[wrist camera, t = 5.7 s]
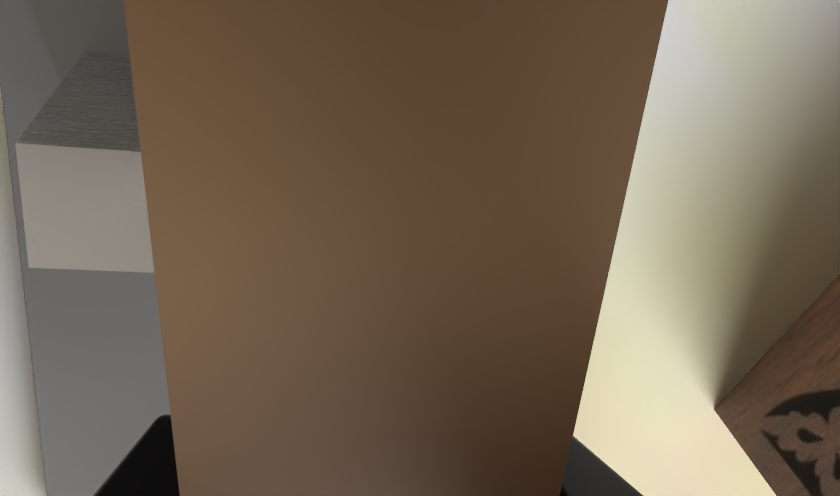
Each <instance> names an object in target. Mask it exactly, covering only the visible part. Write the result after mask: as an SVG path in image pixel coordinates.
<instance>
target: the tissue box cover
mask: <svg viewBox="0 0 840 496" xmlns="http://www.w3.org/2000/svg"><path fill="white" fill-rule="evenodd" d="M714 410H715V411H716V413H717V414H718V415H719V417H720V418H721V420H722V421H723V422H724V424H725V425H726V427H727V428H728V429H729V431H730V432H731V433H732V435H733V436H734V438H735V439H736V440H737V442H738V443H739V444H740V446H741V447H742V449H743V450H744V451H745V453H746V454H747V455H748V457H749V458H750V460H751V461H752V462H753V464H754V465H755V466H756V468H757V469H758V471H759V472H760V473H761V475H762V476H763V477H764V479H765V480H766V482H767V483H768V484H769V486H770V487H771V489H772V490H773V491H774V493H775V494H776V495H777V496H840V275H839V276H838V277H837V278H836V279H835V280H834V281H833V282H832V283H831V285H830V286H829V287H828V288H827V289H826V290H825V291H824V292H823V293H822V294H821V295H820V296H819V297H818V298H817V300H816V301H815V302H814V303H813V304H812V305H811V306H810V307H809V308H808V309H807V310H806V311H805V312H804V314H803V315H802V316H801V317H800V318H799V319H798V320H797V321H796V322H795V323H794V324H793V325H792V326H791V328H790V329H789V330H788V331H787V332H786V333H785V334H784V335H783V336H782V337H781V338H780V339H779V340H778V342H777V343H776V344H775V345H774V346H773V347H772V348H771V349H770V350H769V351H768V352H767V353H766V354H765V356H764V357H763V358H762V359H761V360H760V361H759V362H758V363H757V364H756V365H755V366H754V367H753V368H752V370H751V371H750V372H749V373H748V374H747V375H746V376H745V377H744V378H743V379H742V380H741V381H740V382H739V383H738V385H737V386H736V387H735V388H734V389H733V390H732V391H731V392H730V393H729V394H728V395H727V396H726V397H725V399H724V400H723V401H722V402H721V403H720V404H719V405H718V406H717V407H716V408H715V409H714Z"/></svg>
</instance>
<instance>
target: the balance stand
mask: <svg viewBox="0 0 840 496" xmlns="http://www.w3.org/2000/svg"><path fill="white" fill-rule="evenodd" d="M0 82H1V91H2V100H3V109H4V118H5V126H6V135H7V144H8V153H9V162H10V171H11V180H12V189H13V197H14V206H15V215H16V224H17V233H18V242H19V251H20V260H21V269H22V277H23V286H24V295H25V304H26V313H27V322H28V331H29V340H30V349H31V357H32V366H33V375H34V384H35V393H36V402H37V411H38V420H39V428H40V437H41V446H42V455H43V464H44V473H45V482H46V491H47V496H92V495H93V494H94V493H95V492H96V490H97V489H98V488H99V487H100V486H101V484H102V483H103V482H104V481H105V480H106V478H107V477H108V476H109V475H110V474H111V472H112V471H113V470H114V469H115V468H116V466H117V465H118V464H119V463H120V462H121V460H122V459H123V458H124V457H125V456H126V454H127V453H128V452H129V451H130V449H131V448H132V447H133V446H134V445H135V443H136V442H137V441H138V440H139V439H140V437H141V436H142V435H143V434H144V433H145V431H146V430H147V429H148V428H149V427H150V425H151V424H152V423H153V422H154V421H155V420H156V418H158V417H159V416H161V415H171V414H170V406H169V397H168V388H167V379H166V370H165V361H164V353H163V344H162V335H161V326H160V317H159V308H158V300H157V291H156V282H155V273H154V264H153V256H152V247H151V238H150V229H149V220H148V211H147V203H146V194H145V185H144V176H143V167H142V158H141V150H140V141H139V132H138V123H137V114H136V105H135V97H134V88H133V79H132V70H131V61H130V53H129V44H128V35H127V26H126V17H125V8H124V0H0Z"/></svg>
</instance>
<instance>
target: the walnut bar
mask: <svg viewBox="0 0 840 496" xmlns="http://www.w3.org/2000/svg"><path fill="white" fill-rule="evenodd" d="M667 3H668V0H124V8H125V17H126V26H127V35H128V44H129V53H130V61H131V70H132V79H133V88H134V97H135V105H136V114H137V123H138V132H139V141H140V150H141V158H142V167H143V176H144V185H145V194H146V203H147V211H148V220H149V229H150V238H151V247H152V256H153V264H154V273H155V282H156V291H157V300H158V308H159V317H160V326H161V335H162V344H163V353H164V361H165V370H166V379H167V388H168V397H169V406H170V414H171V423H172V432H173V441H174V450H175V459H176V467H177V476H178V485H179V494H180V496H560V491H561V487H562V482H563V478H564V473H565V469H566V464H567V460H568V455H569V450H570V446H571V441H572V437H573V432H574V428H575V423H576V418H577V414H578V409H579V405H580V400H581V396H582V391H583V386H584V382H585V377H586V373H587V368H588V364H589V359H590V355H591V350H592V345H593V341H594V336H595V332H596V327H597V323H598V318H599V313H600V309H601V304H602V300H603V295H604V291H605V286H606V281H607V277H608V272H609V268H610V263H611V259H612V254H613V249H614V245H615V240H616V236H617V231H618V227H619V222H620V218H621V213H622V208H623V204H624V199H625V195H626V190H627V186H628V181H629V176H630V172H631V167H632V163H633V158H634V154H635V149H636V144H637V140H638V135H639V131H640V126H641V122H642V117H643V112H644V108H645V103H646V99H647V94H648V90H649V85H650V81H651V76H652V71H653V67H654V62H655V58H656V53H657V49H658V44H659V39H660V35H661V30H662V26H663V21H664V17H665V12H666V7H667Z"/></svg>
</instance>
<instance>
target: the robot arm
mask: <svg viewBox="0 0 840 496" xmlns="http://www.w3.org/2000/svg"><path fill="white" fill-rule="evenodd" d="M92 496H180V494H179V485H178V476H177V467H176V459H175V450H174V441H173V432H172V423H171V415H161V416H159V417H158V418H156V420H155V421H154V422H153V423H152V424H151V425H150V427H149V428H148V429H147V430H146V431H145V433H144V434H143V435H142V436H141V437H140V439H139V440H138V441H137V442H136V443H135V445H134V446H133V447H132V448H131V449H130V451H129V452H128V453H127V454H126V456H125V457H124V458H123V459H122V460H121V462H120V463H119V464H118V465H117V466H116V468H115V469H114V470H113V471H112V472H111V474H110V475H109V476H108V477H107V478H106V480H105V481H104V482H103V483H102V484H101V486H100V487H99V488H98V489H97V490H96V492H95V493H94V494H93V495H92ZM560 496H643V495H642V494H640V493H639V492H638V491H637V490H636V489H635V488H633V487H632V486H631V485H630V484H629V483H628V482H626V481H625V480H624V479H623V478H622V477H621V476H619V475H618V474H617V473H616V472H615V471H614V470H612V469H611V468H610V467H609V466H608V465H607V464H605V463H604V462H603V461H602V460H601V459H600V458H598V457H597V456H596V455H595V454H594V453H592V452H591V451H590V450H589V449H588V448H587V447H585V446H584V445H583V444H582V443H581V442H580V441H578V440H577V439H576V438H575V437H574V436H573V437H572V441H571V446H570V450H569V455H568V460H567V464H566V469H565V473H564V478H563V482H562V487H561V491H560Z"/></svg>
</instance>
